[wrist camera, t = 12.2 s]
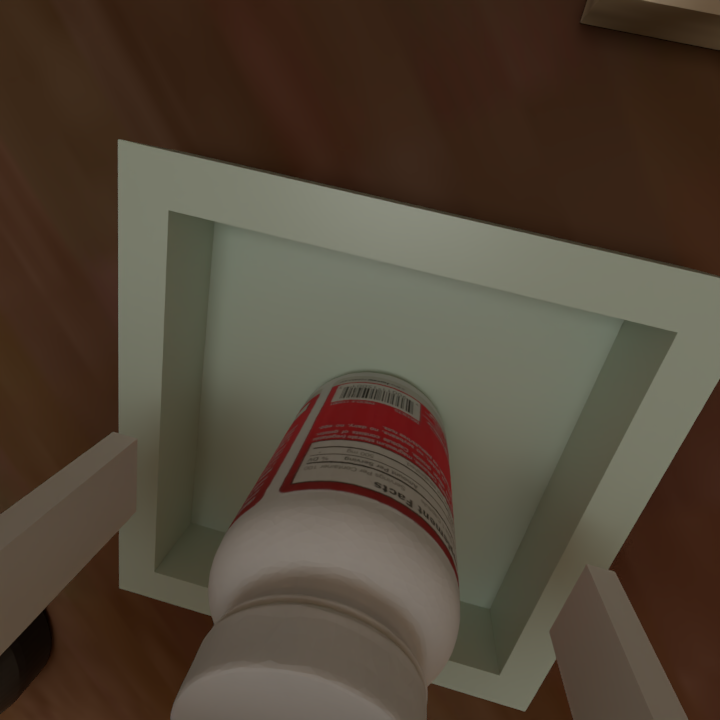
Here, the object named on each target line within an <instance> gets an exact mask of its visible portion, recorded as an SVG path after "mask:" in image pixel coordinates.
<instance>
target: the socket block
mask: <svg viewBox="0 0 720 720" xmlns="http://www.w3.org/2000/svg"><path fill="white" fill-rule="evenodd" d="M580 23H583V24H588V25H593V26H598V27H603V28H608V29H613V30H618V31H624V32H629V33H634V34H639V35H644V36H649V37H654V38H659V39H664V40H669V41H674V42H679V43H685V44H690V45H695V46H700V47H705V48H710V49H715V50H720V0H587V3H586V6H585V9H584V12H583V15H582V18H581V21H580Z"/></svg>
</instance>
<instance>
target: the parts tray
mask: <svg viewBox="0 0 720 720" xmlns="http://www.w3.org/2000/svg"><path fill="white" fill-rule="evenodd" d="M118 350H119V434H123V435H126V436H130V437H133V438H137V495H136V512H135V513H134V514H133V515H132V517H131V518H130V519H129V520H128V521H127V522H126V523H125V524H124V525H123V526H122V527H121V528H120V529H119V588H120V589H124V590H127V591H130V592H134V593H137V594H140V595H143V596H147V597H150V598H153V599H157V600H160V601H163V602H166V603H170V604H173V605H176V606H180V607H183V608H186V609H189V610H193V611H196V612H199V613H203V614H206V615H209V616H211V612H210V606H209V597H208V584H209V576H210V570H211V567H212V563H213V560H214V557H215V554H216V552H217V550H218V548H219V546H220V544H221V542H222V540H223V538H224V536H225V534H226V532H227V530H228V529H229V527H230V525H231V524H232V522H233V520H234V518H235V517H236V515H237V514H238V512H239V510H240V509H241V507H242V506H243V504H244V502H245V500H246V499H247V497H248V495H249V494H250V492H251V491H252V489H253V487H254V486H255V484H256V483H257V481H258V479H259V477H260V476H261V474H262V473H263V471H264V469H265V468H266V466H267V464H268V463H269V461H270V459H271V458H272V456H273V454H274V453H275V451H276V449H277V448H278V446H279V444H280V443H281V441H282V439H283V438H284V436H285V434H286V433H287V431H288V429H289V428H290V426H291V424H292V423H293V421H294V419H295V418H296V416H297V414H298V413H299V411H300V409H301V408H302V406H303V405H304V404H305V402H306V401H307V400H308V398H309V397H310V396H311V395H312V394H313V393H314V392H315V391H316V390H317V389H318V388H320V387H321V386H322V385H324V384H325V383H327V382H329V381H331V380H333V379H336V378H338V377H341V376H344V375H347V374H352V373H361V372H371V373H380V374H385V375H390V376H393V377H396V378H399V379H401V380H403V381H405V382H407V383H409V384H410V385H412V386H413V387H415V388H416V389H418V390H419V391H420V392H421V393H422V394H424V395H425V396H426V397H427V398H428V399H429V401H430V402H431V403H432V404H433V406H434V407H435V409H436V410H437V412H438V413H439V415H440V417H441V419H442V422H443V425H444V428H445V432H446V437H447V444H448V453H449V465H450V476H451V489H452V503H453V514H454V528H455V540H456V554H457V567H458V578H459V592H460V624H459V630H458V636H457V640H456V643H455V646H454V649H453V652H452V654H451V656H450V658H449V660H448V662H447V663H446V665H445V667H444V668H443V670H442V671H441V673H440V674H439V675H438V676H437V677H436V678H435V680H434V681H433V682H432V683H433V684H436V685H439V686H443V687H446V688H449V689H453V690H456V691H459V692H462V693H466V694H469V695H472V696H476V697H479V698H482V699H485V700H489V701H492V702H495V703H499V704H502V705H505V706H508V707H512V708H515V709H518V710H522V711H526V709H527V708H528V706H529V704H530V703H531V701H532V699H533V697H534V696H535V694H536V692H537V691H538V689H539V687H540V685H541V684H542V682H543V680H544V679H545V677H546V675H547V673H548V672H549V670H550V668H551V667H552V665H553V663H554V661H555V660H556V655H555V651H554V648H553V644H552V640H551V637H550V633H549V631H550V629H551V627H552V625H553V624H554V622H555V620H556V618H557V616H558V614H559V613H560V611H561V609H562V607H563V605H564V604H565V602H566V600H567V598H568V596H569V595H570V593H571V591H572V589H573V587H574V586H575V584H576V582H577V580H578V578H579V577H580V575H581V573H582V571H583V569H584V568H585V566H586V564H589V565H593V566H596V567H600V568H603V569H607V570H608V569H609V567H610V565H611V564H612V562H613V560H614V559H615V557H616V555H617V553H618V552H619V550H620V548H621V547H622V545H623V543H624V541H625V540H626V538H627V536H628V535H629V533H630V531H631V530H632V528H633V526H634V524H635V523H636V521H637V519H638V518H639V516H640V514H641V512H642V511H643V509H644V507H645V506H646V504H647V502H648V500H649V499H650V497H651V495H652V494H653V492H654V490H655V488H656V487H657V485H658V483H659V482H660V480H661V478H662V476H663V475H664V473H665V471H666V470H667V468H668V466H669V464H670V463H671V461H672V459H673V458H674V456H675V454H676V452H677V451H678V449H679V447H680V446H681V444H682V442H683V440H684V439H685V437H686V435H687V434H688V432H689V430H690V428H691V427H692V425H693V423H694V422H695V420H696V418H697V416H698V415H699V413H700V411H701V410H702V408H703V406H704V404H705V403H706V401H707V399H708V398H709V396H710V394H711V392H712V391H713V389H714V387H715V386H716V384H717V382H718V380H719V379H720V276H717V275H713V274H709V273H706V272H702V271H698V270H694V269H691V268H687V267H683V266H678V265H674V264H670V263H665V262H661V261H657V260H652V259H648V258H644V257H639V256H635V255H631V254H626V253H622V252H617V251H613V250H609V249H604V248H600V247H596V246H591V245H587V244H583V243H578V242H574V241H570V240H565V239H561V238H557V237H552V236H548V235H544V234H539V233H535V232H531V231H526V230H522V229H518V228H513V227H509V226H505V225H500V224H496V223H492V222H487V221H483V220H478V219H474V218H470V217H465V216H461V215H457V214H452V213H448V212H444V211H439V210H435V209H431V208H426V207H422V206H418V205H413V204H409V203H405V202H400V201H396V200H392V199H387V198H383V197H379V196H374V195H370V194H366V193H361V192H357V191H353V190H348V189H344V188H339V187H335V186H331V185H326V184H322V183H318V182H313V181H309V180H305V179H300V178H296V177H292V176H287V175H283V174H279V173H274V172H270V171H266V170H261V169H257V168H253V167H248V166H244V165H240V164H235V163H231V162H227V161H222V160H218V159H213V158H209V157H205V156H200V155H196V154H192V153H187V152H182V151H176V150H171V149H166V148H161V147H156V146H151V145H146V144H140V143H135V142H130V141H125V140H120V139H118Z"/></svg>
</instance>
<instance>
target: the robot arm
mask: <svg viewBox="0 0 720 720" xmlns="http://www.w3.org/2000/svg"><path fill="white" fill-rule="evenodd" d="M136 495H137V438H133V437H130V436H126V435H123V434H119V433H116V432H112V433H111V434H109V435H108V436H107V437H105V438H104V439H103V440H101V441H100V442H99V443H97V444H96V445H94V446H93V447H92V448H90V449H89V450H88V451H86V452H85V453H84V454H82V455H81V456H79V457H78V458H77V459H75V460H74V461H73V462H71V463H70V464H69V465H67V466H66V467H64V468H63V469H62V470H60V471H59V472H58V473H56V474H55V475H54V476H52V477H51V478H49V479H48V480H47V481H45V482H44V483H43V484H41V485H40V486H38V487H37V488H36V489H34V490H33V491H32V492H30V493H29V494H28V495H26V496H25V497H23V498H22V499H21V500H19V501H18V502H17V503H15V504H14V505H13V506H11V507H10V508H8V509H7V510H6V511H4V512H3V513H2V514H0V714H1V713H2V712H3V711H5V710H6V709H7V708H8V707H10V706H11V705H12V704H13V703H14V702H15V701H16V700H17V699H18V698H19V696H20V695H21V694H22V693H23V692H24V690H25V689H26V688H27V687H28V686H29V684H30V683H31V682H32V681H33V680H34V678H35V677H36V676H37V675H38V674H39V672H40V671H41V670H42V669H43V667H44V666H45V664H46V663H47V660H48V658H49V655H50V650H51V637H50V631H49V626H48V623H47V620H46V618H45V615H44V613H43V610H44V609H45V608H46V607H47V606H48V605H49V604H50V602H51V601H52V600H53V599H54V598H55V597H56V596H57V595H58V594H59V593H60V592H61V591H62V590H63V589H64V588H65V587H66V585H67V584H68V583H69V582H70V581H71V580H72V579H73V578H74V577H75V576H76V575H77V574H78V573H79V572H80V571H81V570H82V569H83V567H84V566H85V565H86V564H87V563H88V562H89V561H90V560H91V559H92V558H93V557H94V556H95V555H96V554H97V553H98V552H99V550H100V549H101V548H102V547H103V546H104V545H105V544H106V543H107V542H108V541H109V540H110V539H111V538H112V537H113V536H114V535H115V533H116V532H117V531H118V530H119V529H120V528H121V527H122V526H123V525H124V524H125V523H126V522H127V521H128V520H129V519H130V518H131V517H132V515H133V514H134V513H135V512H136ZM549 633H550V637H551V640H552V644H553V648H554V651H555V655H556V659H557V662H558V666H559V669H560V673H561V677H562V680H563V684H564V688H565V691H566V695H567V699H568V702H569V706H570V709H571V713H572V717H573V720H688V718H687V716H686V714H685V712H684V710H683V708H682V706H681V704H680V702H679V700H678V698H677V696H676V694H675V692H674V690H673V688H672V686H671V684H670V682H669V680H668V678H667V676H666V674H665V672H664V670H663V668H662V666H661V664H660V662H659V660H658V658H657V656H656V654H655V652H654V650H653V648H652V646H651V644H650V642H649V640H648V638H647V635H646V633H645V631H644V629H643V627H642V625H641V623H640V621H639V619H638V617H637V615H636V613H635V611H634V609H633V607H632V605H631V603H630V601H629V599H628V597H627V595H626V593H625V591H624V589H623V587H622V585H621V583H620V581H619V579H618V577H617V575H616V573H615V572H614V571H611V570H607V569H603V568H600V567H596V566H593V565H589V564H586V566H585V568H584V569H583V571H582V573H581V575H580V577H579V578H578V580H577V582H576V584H575V586H574V587H573V589H572V591H571V593H570V595H569V596H568V598H567V600H566V602H565V604H564V605H563V607H562V609H561V611H560V613H559V614H558V616H557V618H556V620H555V622H554V624H553V625H552V627H551V629H550V631H549Z"/></svg>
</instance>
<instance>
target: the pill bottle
mask: <svg viewBox="0 0 720 720" xmlns="http://www.w3.org/2000/svg"><path fill="white" fill-rule="evenodd" d="M208 597H209V606H210V612H211V616H212V620H213V623H214V626H213V628H212V629H211V630H210V632H209V633H208V634H207V635H206V637H205V638H204V640H203V642H202V643H201V645H200V648H199V650H198V652H197V654H196V657H195V659H194V661H193V663H192V665H191V667H190V669H189V671H188V673H187V675H186V677H185V679H184V681H183V683H182V685H181V687H180V690H179V692H178V694H177V696H176V699H175V701H174V703H173V707H172V711H171V716H170V720H427V699H428V690H427V686H429V685H430V684H431V683H432V682H433V681H434V680H435V678H436V677H437V676H438V675H439V674H440V673H441V671H442V670H443V668H444V667H445V665H446V663H447V662H448V660H449V658H450V656H451V654H452V652H453V649H454V646H455V643H456V640H457V636H458V630H459V624H460V592H459V578H458V567H457V554H456V540H455V528H454V514H453V503H452V489H451V476H450V465H449V453H448V444H447V437H446V432H445V428H444V425H443V422H442V419H441V417H440V415H439V413H438V412H437V410H436V409H435V407H434V406H433V404H432V403H431V402H430V401H429V399H428V398H427V397H426V396H425V395H424V394H422V393H421V392H420V391H419V390H418V389H416V388H415V387H413V386H412V385H410V384H409V383H407V382H405V381H403V380H401V379H399V378H396V377H393V376H390V375H385V374H380V373H371V372H361V373H352V374H347V375H344V376H341V377H338V378H336V379H333V380H331V381H329V382H327V383H325V384H324V385H322V386H321V387H320V388H318V389H317V390H316V391H315V392H314V393H313V394H312V395H311V396H310V397H309V398H308V400H307V401H306V402H305V404H304V405H303V406H302V408H301V409H300V411H299V413H298V414H297V416H296V418H295V419H294V421H293V423H292V424H291V426H290V428H289V429H288V431H287V433H286V434H285V436H284V438H283V439H282V441H281V443H280V444H279V446H278V448H277V449H276V451H275V453H274V454H273V456H272V458H271V459H270V461H269V463H268V464H267V466H266V468H265V469H264V471H263V473H262V474H261V476H260V477H259V479H258V481H257V483H256V484H255V486H254V487H253V489H252V491H251V492H250V494H249V495H248V497H247V499H246V500H245V502H244V504H243V506H242V507H241V509H240V510H239V512H238V514H237V515H236V517H235V518H234V520H233V522H232V524H231V525H230V527H229V529H228V530H227V532H226V534H225V536H224V538H223V540H222V542H221V544H220V546H219V548H218V550H217V552H216V554H215V557H214V560H213V563H212V567H211V570H210V576H209V584H208Z"/></svg>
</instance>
